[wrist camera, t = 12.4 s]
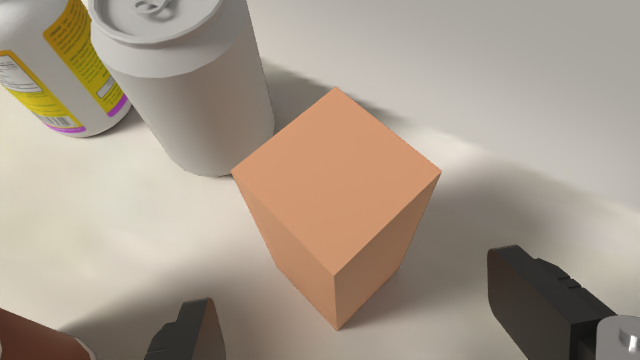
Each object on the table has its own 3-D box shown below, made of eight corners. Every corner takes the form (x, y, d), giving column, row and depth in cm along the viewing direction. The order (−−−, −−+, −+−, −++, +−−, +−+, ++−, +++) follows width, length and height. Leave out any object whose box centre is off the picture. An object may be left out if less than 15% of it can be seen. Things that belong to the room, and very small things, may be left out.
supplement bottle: (123, 54, 33) (9, -125, 22) (150, 116, 31) (35, -53, 19) (37, 89, 32) (-132, -81, 21) (57, 157, 29) (-125, 3, 18)
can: (289, 99, 31) (261, -61, 20) (259, 192, 28) (206, 62, 17) (191, 83, 32) (114, -77, 21) (151, 171, 29) (37, 36, 18)
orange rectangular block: (277, 266, 25) (230, 170, 15) (337, 211, 27) (335, 86, 16) (337, 331, 24) (333, 275, 13) (398, 268, 25) (442, 170, 14)
